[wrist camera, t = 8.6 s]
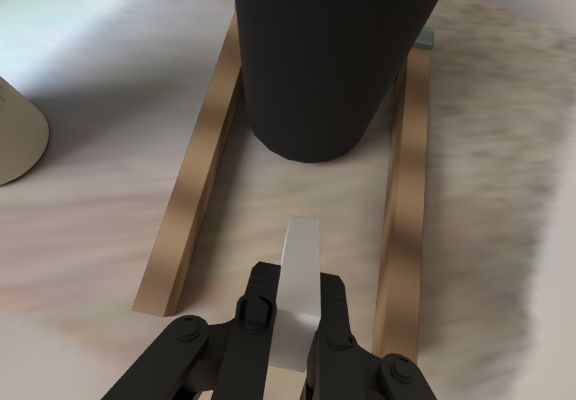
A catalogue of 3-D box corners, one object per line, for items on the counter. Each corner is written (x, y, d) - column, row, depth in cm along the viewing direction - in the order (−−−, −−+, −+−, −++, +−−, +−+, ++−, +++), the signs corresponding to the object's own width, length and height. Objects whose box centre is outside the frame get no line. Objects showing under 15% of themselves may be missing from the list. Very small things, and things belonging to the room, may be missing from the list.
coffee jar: (318, 51, 30) (386, -277, 13) (388, 131, 28) (582, -147, 11) (223, 98, 28) (156, -233, 11) (290, 192, 25) (341, -49, 8)
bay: (400, 362, 21) (420, 370, 19) (146, 310, 21) (128, 310, 19) (418, 54, 31) (433, 29, 28) (242, 18, 31) (240, -11, 28)
